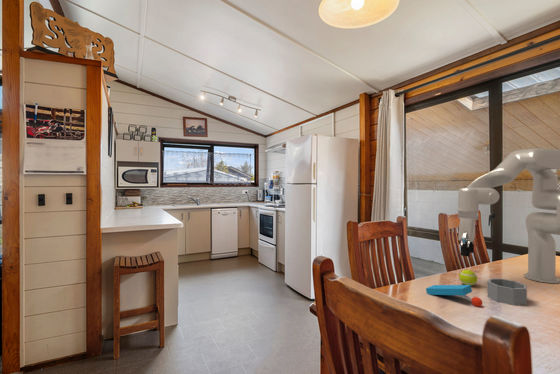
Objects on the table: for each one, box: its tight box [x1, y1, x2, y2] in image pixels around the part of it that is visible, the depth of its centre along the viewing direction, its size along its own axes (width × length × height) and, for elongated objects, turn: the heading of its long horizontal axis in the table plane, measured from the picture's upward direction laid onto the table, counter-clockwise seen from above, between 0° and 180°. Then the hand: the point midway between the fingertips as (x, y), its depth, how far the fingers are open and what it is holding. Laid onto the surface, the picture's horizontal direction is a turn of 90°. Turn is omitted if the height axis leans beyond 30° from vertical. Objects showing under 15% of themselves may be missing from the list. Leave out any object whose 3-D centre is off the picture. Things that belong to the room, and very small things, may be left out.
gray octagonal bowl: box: [487, 278, 528, 306], centre depth 111 cm, size 12×12×6 cm
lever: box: [425, 284, 483, 308], centre depth 111 cm, size 7×7×18 cm
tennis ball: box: [458, 269, 478, 287], centre depth 126 cm, size 7×7×7 cm
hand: (467, 254), depth 126 cm, fingers open, 9 cm apart
